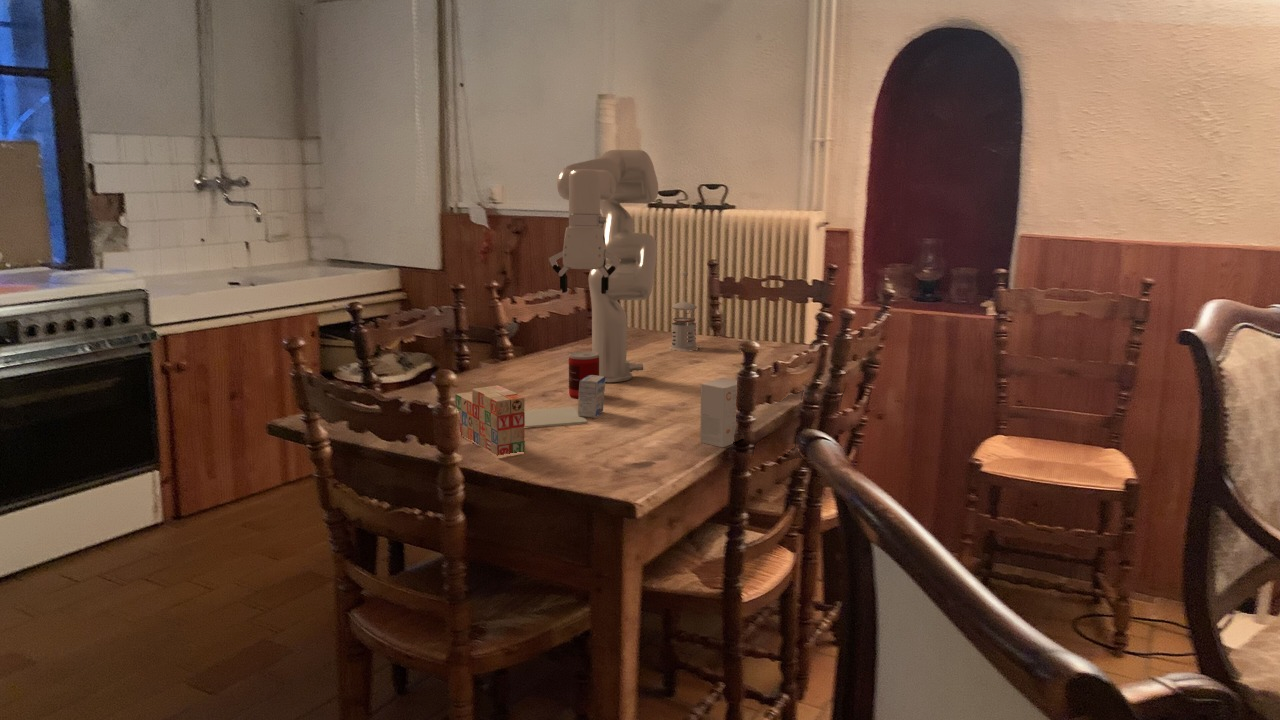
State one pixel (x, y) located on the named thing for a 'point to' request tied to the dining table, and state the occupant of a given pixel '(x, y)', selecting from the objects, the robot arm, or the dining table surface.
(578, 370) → the canned food
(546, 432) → the dining table surface
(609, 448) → the dining table surface
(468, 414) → the stack of blocks
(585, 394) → the medicine box
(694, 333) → the grey lantern
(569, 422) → the mat
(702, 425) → the small box
